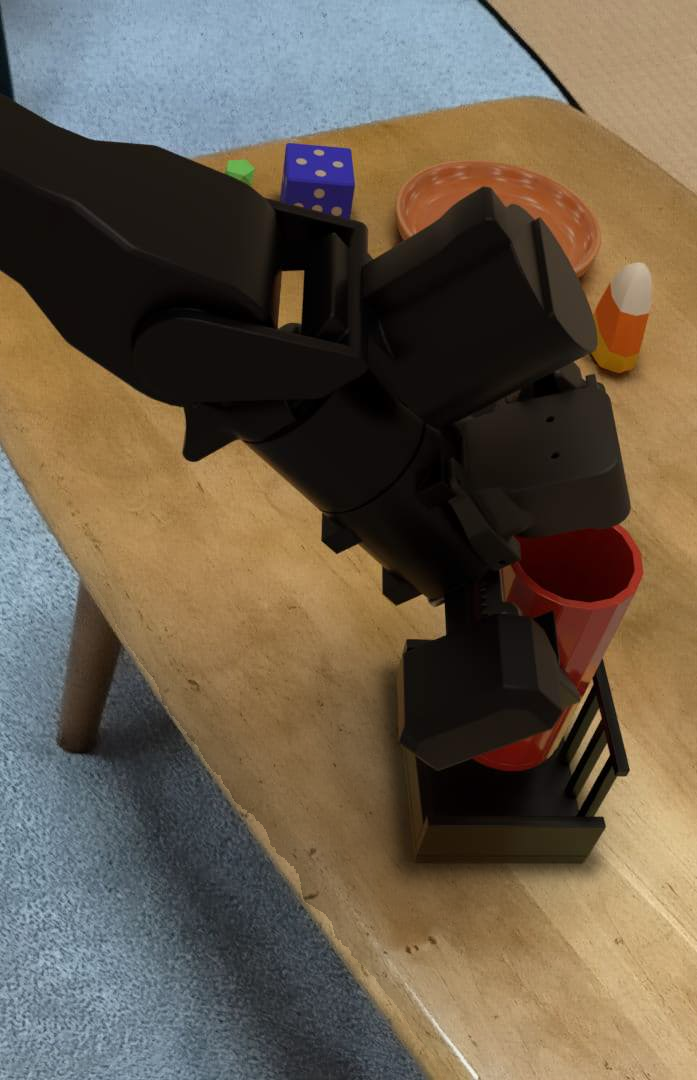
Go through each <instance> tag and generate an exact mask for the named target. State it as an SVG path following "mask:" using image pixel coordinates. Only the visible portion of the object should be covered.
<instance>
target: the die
mask: <svg viewBox="0 0 697 1080" xmlns="http://www.w3.org/2000/svg"><path fill="white" fill-rule="evenodd" d="M355 189H356V181H355V172H354V163H353V154H352V149H351V148H350V147H338V146H328V145H327V146H326V145H318V144H306V143H294V142H287V143H286V144H285V149H284V160H283V169H282V178H281V187H280V197H279V201H280V202H284V203H288V204H292V205H296V206H300V207H304V208H308V209H312V210H316V211H320V212H324V213H327V214H331V215H335V216H339V217H343V218H347V219H351V213H352V206H353V201H354V195H355Z"/></svg>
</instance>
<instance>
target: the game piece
mask: <svg viewBox="0 0 697 1080" xmlns="http://www.w3.org/2000/svg"><path fill="white" fill-rule="evenodd" d="M255 172H256V168H255V167H254V166H253V164H251V163H250V162H249V161H248V160H247V159H229V160H227V161H226V166H225V171H224V174H227V175H229V176H232V177H234V178H236V179H238V180H240V181H242V182H244V183H246V184H248V185H249V186H252V184H253V180H254V175H255Z"/></svg>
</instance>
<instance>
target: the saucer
mask: <svg viewBox="0 0 697 1080" xmlns="http://www.w3.org/2000/svg"><path fill="white" fill-rule="evenodd" d="M481 187H490V188H492V189H493V191H494V192H495V193H496V195H497V196H498V197H499V199H500V200H501V201H502V203H503V204H504V205H505V207H507V206H508V205H510V204H517V205H519V206H520V207H522V208H523V209H525V210H526V211H527V212H528V213H529V214H530V215H531V216H532V217H533V218H534V219H537V218H538V217H540V218H541V219H542V220H543V221H544V222H545V224H546V225H547V226H548V228H549V229H550V231H551V232H552V233H553V235H554V236H555V238H556V239H557V241H558V242H559V244H560V246H561V247H562V249H563V251H564V252H565V254H566V256H567V258H568V259H569V261H570V263H571V265H572V267H573V269H574V271H575V273H576V275H577V277H578V279H580V277H581V276H583V275H584V274H585V273H586V272H587V271H589V269H590V268H591V267H592V266H593V263H594V262H595V260H596V258H597V257H598V254H599V252H600V249H601V245H602V233H601V232H602V231H601V227H600V224H599V221H598V219H597V217H596V216H595V214H594V212H593V211H592V210H591V208H590V206H588V205H587V204H586V202H585V201H584V200H583V199H582V198H581V197H580V196H579V195H577V194H576V193H575V192H574V191H572V190H571V189H570V188H568V187H567V186H565V185H564V184H562V183H561V182H558V181H556V180H555V179H553V178H551V177H549V176H547V175H545V174H542V173H540V172H537V171H536V170H532V169H529V168H526V167H522V166H518V165H515V164H511V163H505V162H500V161H493V160H483V159H466V160H465V159H464V160H463V159H462V160H453V161H447V162H446V161H445V162H441V163H438V164H435V165H434V164H433V165H431V166H429V167H426V168H424V169H422V170H420V171H418V172H416V173H415V174H413V175H412V176H411V177H409V178H408V179H407V180H406V181H405V183H404V184H403V185H402V186H401V188H400V189H399V192H398V194H397V196H396V200H395V223H396V226H397V230H398V232H399V234H400V237H401V238H402V239H403V241H404V240H406V239H408V238H409V237H411V236H413V235H414V234H416V233H418V232H419V231H421V230H422V229H424V228H426V227H427V226H429V225H431V224H432V223H434V222H435V221H437V220H438V219H439V218H440V217H441V216H442V215H444V214H445V213H446V212H447V211H448V210H449V209H450V208H451V207H452V206H453V205H454V204H456V203H457V202H458V201H460V200H461V199H463V198H465V197H466V196H468V195H470V194H471V193H473V192H474V191H476V190H478V189H479V188H481Z"/></svg>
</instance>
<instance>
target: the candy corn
mask: <svg viewBox="0 0 697 1080" xmlns="http://www.w3.org/2000/svg"><path fill="white" fill-rule="evenodd" d="M652 275H653V274H652V272H651V271H650V269H649V268H648V266H647V265H646V263H644V262H640V261H638V262H633V263H629V264H625V265H624V266H623V267H622V268H621V269H620V270H619V271H617V273H615V275H614V276H613V277H612V279H610V282H609V283H608V285H607V286H606V289H605V290H604V292H603V294H602V295H601V298H600V299H599V301H598V304H596V307H595V309H594V312H593V313H592V314H593V318H594V321H595V324H596V329H597V336H598V345H597V348H596V350H595V351H593V352H592V353H590V354H591V356H592V357H593V359H594V360H595V362H596V363H597V365H598V366H599V367H600V368H602V369H604V370H608V371H610V372H613V373H617V374H622V373H625V372H627V371H631V370H633V369H634V368H635V366H636V364H637V362H638V359H639V358H638V357H639V355H640V352H641V347H642V344H643V341H644V336H645V332H646V329H647V324H648V320H649V316H650V312H651V307H652V305H651V304H652V299H653V276H652Z"/></svg>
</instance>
